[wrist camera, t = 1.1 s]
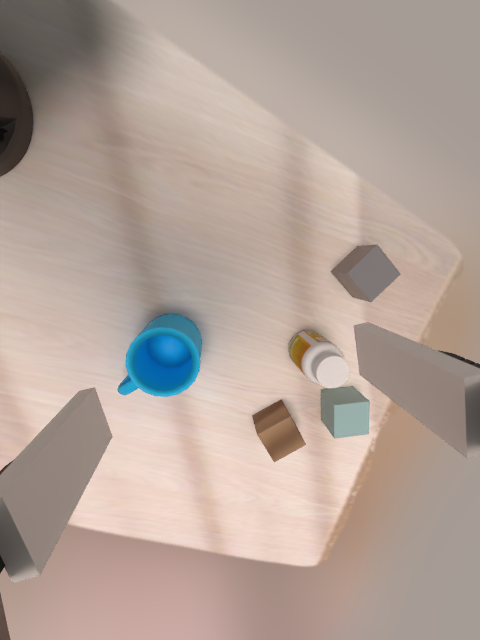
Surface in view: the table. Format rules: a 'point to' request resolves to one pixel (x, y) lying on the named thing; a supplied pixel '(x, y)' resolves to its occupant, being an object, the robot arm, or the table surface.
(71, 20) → the table surface
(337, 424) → the teal cube
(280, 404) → the walnut cube
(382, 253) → the charcoal cube
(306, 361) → the supplement bottle
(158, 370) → the mug
